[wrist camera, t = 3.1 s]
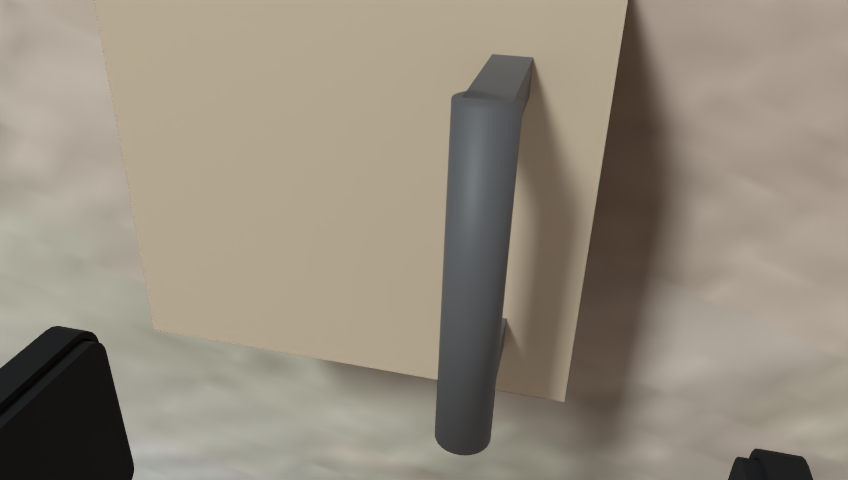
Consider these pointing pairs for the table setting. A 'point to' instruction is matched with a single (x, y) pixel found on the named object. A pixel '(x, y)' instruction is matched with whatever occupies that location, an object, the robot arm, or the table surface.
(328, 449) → the table surface
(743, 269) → the table surface
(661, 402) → the table surface
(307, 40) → the door
